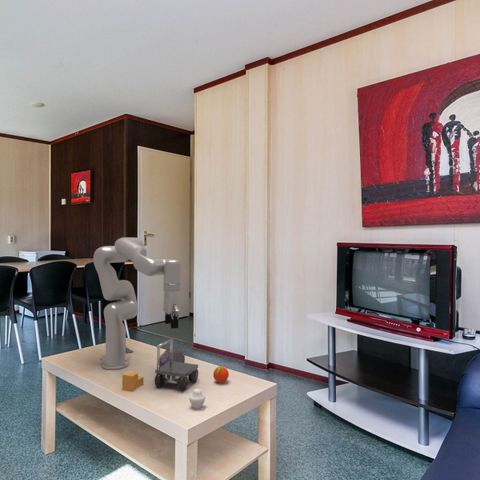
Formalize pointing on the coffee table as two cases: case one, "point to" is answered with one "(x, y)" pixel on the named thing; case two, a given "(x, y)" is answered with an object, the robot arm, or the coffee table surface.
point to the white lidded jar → (197, 398)
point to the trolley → (174, 370)
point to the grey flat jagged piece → (128, 350)
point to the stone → (176, 356)
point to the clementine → (220, 374)
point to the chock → (131, 381)
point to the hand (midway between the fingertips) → (171, 325)
